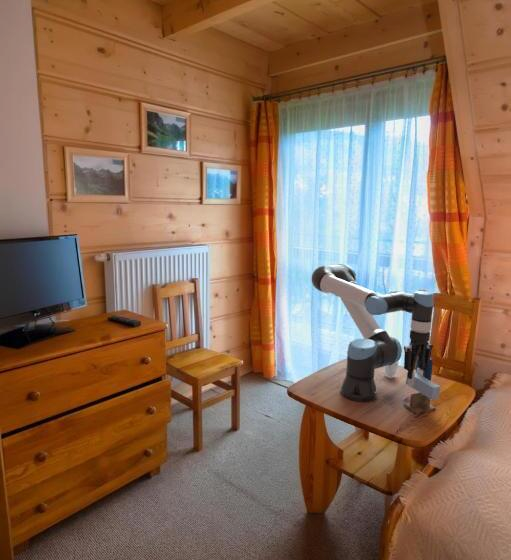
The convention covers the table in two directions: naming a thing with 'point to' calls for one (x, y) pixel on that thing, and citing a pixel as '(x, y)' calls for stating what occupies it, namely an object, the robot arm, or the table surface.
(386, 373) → the cup
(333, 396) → the table surface
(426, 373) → the soda can
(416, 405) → the ridge stand
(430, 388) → the bar
